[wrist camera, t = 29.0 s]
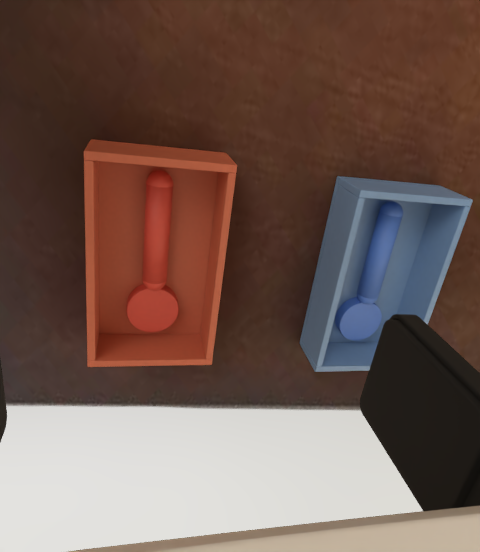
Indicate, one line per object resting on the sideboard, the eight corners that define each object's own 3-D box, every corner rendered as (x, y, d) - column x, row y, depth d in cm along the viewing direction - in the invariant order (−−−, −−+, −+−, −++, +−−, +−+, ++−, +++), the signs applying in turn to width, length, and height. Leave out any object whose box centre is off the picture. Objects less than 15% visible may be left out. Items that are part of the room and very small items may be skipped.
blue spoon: (365, 196, 38) (376, 203, 36) (410, 200, 39) (423, 207, 37) (330, 334, 44) (338, 345, 42) (369, 334, 45) (379, 345, 43)
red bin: (204, 335, 42) (211, 364, 38) (92, 335, 39) (87, 367, 35) (226, 152, 35) (237, 165, 31) (90, 139, 32) (83, 150, 28)
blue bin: (388, 343, 47) (411, 369, 43) (299, 343, 45) (314, 372, 41) (439, 185, 40) (473, 199, 36) (336, 175, 37) (360, 190, 33)
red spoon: (130, 164, 33) (129, 171, 31) (188, 170, 34) (191, 176, 32) (126, 325, 39) (125, 337, 37) (175, 325, 40) (177, 337, 38)
